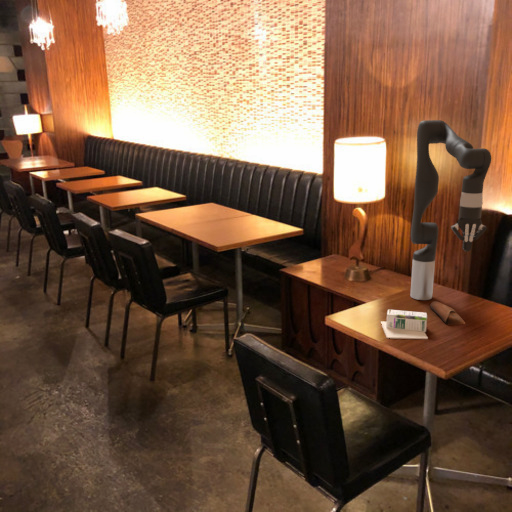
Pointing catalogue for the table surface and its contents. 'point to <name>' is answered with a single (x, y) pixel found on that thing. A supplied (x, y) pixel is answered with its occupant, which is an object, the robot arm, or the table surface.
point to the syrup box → (406, 320)
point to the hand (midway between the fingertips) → (466, 250)
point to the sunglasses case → (446, 313)
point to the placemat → (402, 333)
